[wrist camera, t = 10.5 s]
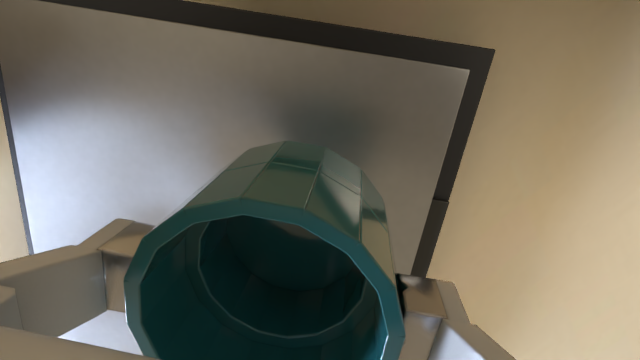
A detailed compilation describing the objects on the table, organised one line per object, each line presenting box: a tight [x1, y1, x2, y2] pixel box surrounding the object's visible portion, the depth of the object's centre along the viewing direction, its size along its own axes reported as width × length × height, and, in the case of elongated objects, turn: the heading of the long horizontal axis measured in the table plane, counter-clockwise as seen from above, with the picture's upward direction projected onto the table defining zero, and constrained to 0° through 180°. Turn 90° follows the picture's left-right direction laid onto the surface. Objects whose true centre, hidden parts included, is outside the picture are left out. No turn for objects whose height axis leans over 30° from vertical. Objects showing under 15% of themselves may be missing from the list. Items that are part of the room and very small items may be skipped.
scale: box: [0, 0, 495, 356], centre depth 22 cm, size 25×25×3 cm
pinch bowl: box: [123, 141, 406, 360], centre depth 10 cm, size 6×6×5 cm
